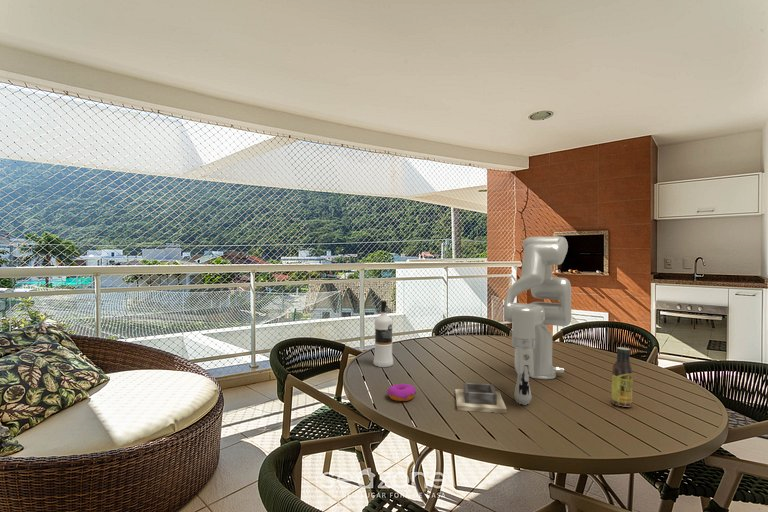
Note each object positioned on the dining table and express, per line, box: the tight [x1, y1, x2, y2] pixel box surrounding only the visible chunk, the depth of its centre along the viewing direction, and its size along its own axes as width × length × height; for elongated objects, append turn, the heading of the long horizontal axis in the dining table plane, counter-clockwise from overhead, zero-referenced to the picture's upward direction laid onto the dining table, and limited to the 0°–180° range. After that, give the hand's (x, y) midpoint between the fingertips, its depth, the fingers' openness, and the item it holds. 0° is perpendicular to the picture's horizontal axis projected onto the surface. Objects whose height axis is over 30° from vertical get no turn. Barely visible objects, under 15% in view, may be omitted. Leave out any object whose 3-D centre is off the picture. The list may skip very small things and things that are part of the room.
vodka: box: [372, 300, 394, 368], centre depth 180 cm, size 9×9×30 cm
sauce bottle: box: [610, 346, 634, 406], centre depth 135 cm, size 6×6×20 cm
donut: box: [386, 383, 417, 402], centre depth 140 cm, size 10×10×5 cm
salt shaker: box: [513, 374, 532, 406], centre depth 136 cm, size 6×6×13 cm
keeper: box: [454, 382, 508, 414], centre depth 136 cm, size 16×16×5 cm
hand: (522, 393), depth 136 cm, fingers closed on salt shaker, 3 cm apart
